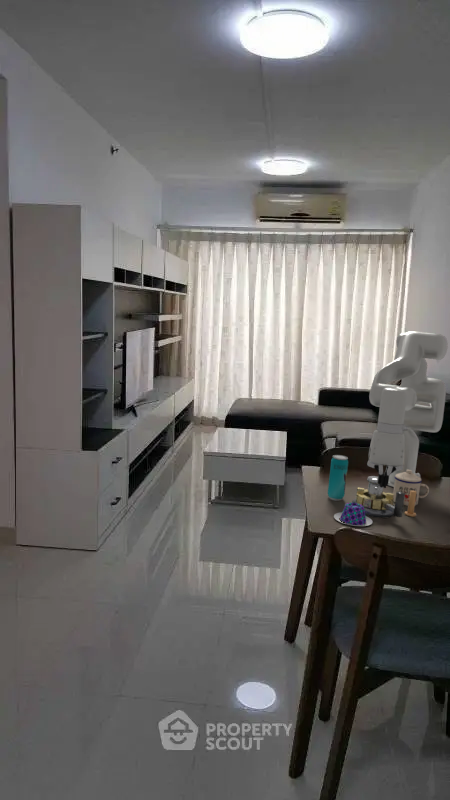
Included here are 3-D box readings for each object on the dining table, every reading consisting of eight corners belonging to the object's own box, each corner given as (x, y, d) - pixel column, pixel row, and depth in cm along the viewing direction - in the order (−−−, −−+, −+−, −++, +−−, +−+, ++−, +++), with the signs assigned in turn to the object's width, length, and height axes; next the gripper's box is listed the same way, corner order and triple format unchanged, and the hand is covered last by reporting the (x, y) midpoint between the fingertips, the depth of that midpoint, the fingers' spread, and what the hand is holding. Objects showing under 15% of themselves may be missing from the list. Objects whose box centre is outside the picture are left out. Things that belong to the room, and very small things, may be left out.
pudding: (343, 511, 200) (345, 496, 199) (378, 521, 193) (380, 505, 193) (327, 520, 191) (328, 504, 190) (363, 531, 184) (365, 514, 183)
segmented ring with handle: (348, 498, 206) (351, 476, 204) (377, 496, 210) (379, 475, 209) (385, 518, 188) (388, 495, 187) (415, 516, 193) (418, 493, 192)
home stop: (408, 512, 204) (411, 489, 203) (418, 515, 201) (421, 492, 200) (402, 513, 202) (405, 490, 200) (411, 517, 199) (414, 493, 198)
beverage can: (343, 502, 209) (348, 459, 206) (326, 500, 210) (331, 457, 207) (343, 497, 214) (348, 455, 212) (327, 495, 215) (332, 453, 213)
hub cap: (369, 500, 213) (373, 470, 211) (403, 513, 202) (407, 482, 200) (342, 506, 204) (346, 475, 202) (377, 520, 193) (381, 487, 192)
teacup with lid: (392, 504, 211) (396, 471, 209) (390, 496, 220) (395, 465, 218) (428, 509, 209) (433, 476, 207) (425, 501, 218) (430, 469, 216)
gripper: (412, 428, 189) (404, 486, 192) (363, 423, 191) (356, 480, 193) (417, 433, 182) (409, 492, 184) (366, 428, 183) (359, 487, 186)
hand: (382, 486), depth 189 cm, fingers closed
